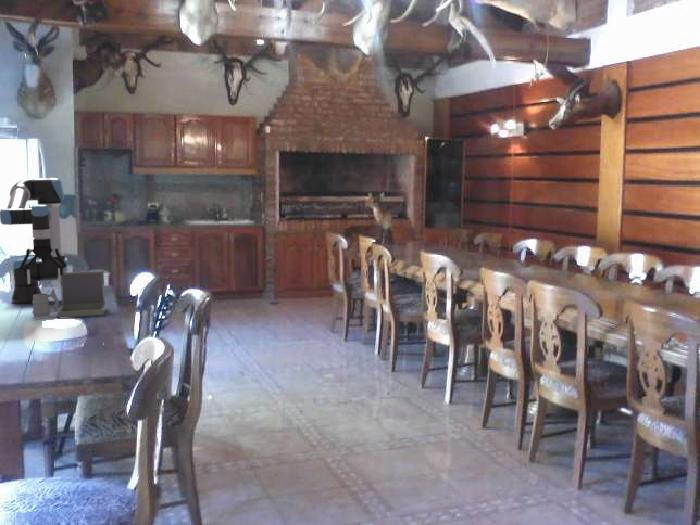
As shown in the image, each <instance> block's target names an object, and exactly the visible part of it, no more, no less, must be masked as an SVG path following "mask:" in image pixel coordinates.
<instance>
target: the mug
mask: <svg viewBox="0 0 700 525" xmlns="http://www.w3.org/2000/svg"><path fill="white" fill-rule="evenodd" d="M49 298H52V299H53V301H54V304H53V305H49V302H50V299H49ZM31 304H32V306H33V309H32V312H31V314H32V315H33V317H34V316H37V317H41V316H48V315H50V313H51V310H52V311H54V312H58V309H59V307H60V306H59V304H60V301H59V299H58V296H57V294H56V292H55V288H52V289H51V292H50V294H48V293H42V294H34V295H33V301H32V303H31Z"/></svg>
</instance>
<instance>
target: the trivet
mask: <svg viewBox="0 0 700 525" xmlns="http://www.w3.org/2000/svg"><path fill="white" fill-rule="evenodd" d="M50 317H54V318H58V311H54V312H50V315H48V316H41V317H37V316H33V319H50Z"/></svg>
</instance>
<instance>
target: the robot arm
mask: <svg viewBox="0 0 700 525" xmlns="http://www.w3.org/2000/svg"><path fill="white" fill-rule="evenodd" d="M9 196H10V198H9V202H8V205H7V208H2V209H0V224H1V225H4V226H5V225H7V226H8V225H9V226H10V225H12V226H13V225H32V241H33V242H32V243H33V248H32V249H31V248H27V249H26V251H25V252H26V253H25V256H24V257H20V258H18V259H15V260H14V261H13V262H12V263H13V264H12V267H13V268H12V270H13V283H14V289H13V292H12V296H11V303H12V304H33V303H32V301H33V295H34V294H43V292H42V290H41V288H40V286H39V282H40V281H41V282H46V281H58V283H59V284H61V275H63V273H68V262H69V261H68V260H69V258H68V257H65V253H64V252H62V242H61V241H62V240H61V225H60V223H61V222H60V206H61V205H62V201H64V200H65V195H64V187H63V184H62V181H61V179H60V178H57V177H29V178H24V179H22V180H19V181H18V182H16V183H15V184H14V185H13V186H12V187H11V189H10V192H9ZM28 201H37V204H35V205H31V208H26V205H27V202H28ZM32 253H33V254H34V256H30V254H32Z"/></svg>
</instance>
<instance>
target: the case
mask: <svg viewBox="0 0 700 525" xmlns="http://www.w3.org/2000/svg"><path fill="white" fill-rule="evenodd" d="M104 278H105V276H104V270H98V271H97V270H96V271H73V272H69V271H67V273H63V275H61V283H60V292H61V294H60V295H61V297H60V298H61V306H60V308H58V309H59V310H57V312H58V316H57V318H58V317H75V318H87V317H88V318H89V317H91V318H92V317H104V314H105V311H106V296H105V279H104Z"/></svg>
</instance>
